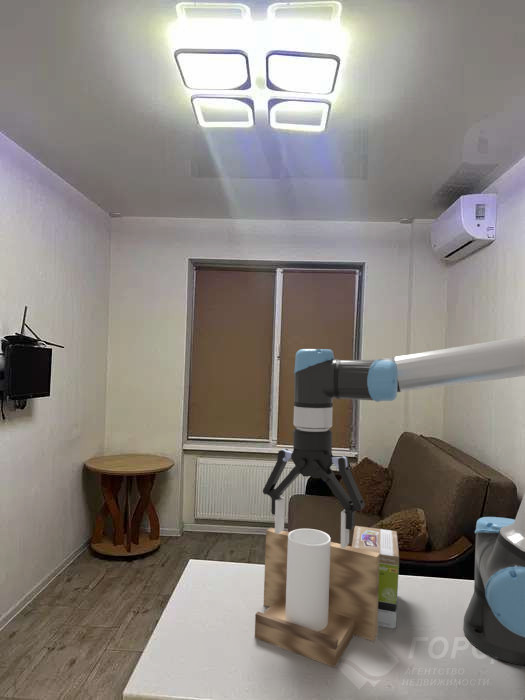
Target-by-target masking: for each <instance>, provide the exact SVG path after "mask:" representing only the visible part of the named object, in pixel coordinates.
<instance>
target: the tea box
mask: <svg viewBox="0 0 525 700" xmlns="http://www.w3.org/2000/svg"><path fill="white" fill-rule="evenodd" d="M351 541H352V542H351V547H355V548H359V549H364V550H368V551H372V552H376V553H380V561H379V592H378V624H377V627H383V628H388V629H396V626H397V614H398V613H397V612H398V611H397V609H398V589H399V574H400V573H399V572H400V571H399V570H400V569H399V568H400V552H399V543H398V542H399V541H398V532H397V531H396V530H392V529H391V530H389V529H381V528H376V527H375V528H374V527H367V526H359V525H354V527H353V536H352V540H351Z"/></svg>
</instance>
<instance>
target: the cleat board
mask: <svg viewBox="0 0 525 700" xmlns="http://www.w3.org/2000/svg"><path fill="white" fill-rule="evenodd" d="M290 532H291V531H287V530H286V531H285V530H283V531H281V532H280V533H279V534H276V533H275V527H274V528H273V527H269V528H268V529H266V530H265V548H264V549H265V553H264V555H265V557H264V576H263V577H264V581H263V582H264V583H263V588H264V589H263V606H265V607H268V608H267V609H266V610H265V611H264V612H261V611H257V612H256V613H255V617H254V618H255V619H254V620H255V621H254V638H255V639H257V640H259V641H262V642H265V643H268V644H271V645H274V646H277V647H279V648H282V649H283V650H286V651H289V652H291V653H295V654H297V655H301V656H303V657H306V658H308V659H310V660H314V661H315V662H319V663H322V664H325V665H328V666H329V667H333V668H336V666H337V665H338V663H339V662H340V659H341V658H342V656H343V654H344V653H345V651H346V649H347V648H348V646H349V644H350V642H351V641H352V639H353V637H354V636H356V637H359V638H362V639H366V640H367V641H368V640H369V641H371V640H372V642H375V641H376V639H377V637H378V626H377V624H378V592H379V561H380V553H376V552H372V551H368V550H364V549H359V548H355V547H352V545H351V546H350V545H347V546H346V547H345V548H341V543H338V542H333V541H331V545H330V576H329V607H328V624H327V626H326V627H325V628H324V629H323V630H321V631H314V630H312V629H309V628H306V627H303V626H300V625H297V624H294V623H291V622H288V621H286V620H285V611H286V581H287V551H288V534H289V533H290Z"/></svg>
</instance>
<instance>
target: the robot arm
mask: <svg viewBox="0 0 525 700" xmlns="http://www.w3.org/2000/svg"><path fill="white" fill-rule="evenodd" d="M294 359H295V361H294V371H293V375H294V376H293V377H294V378H293V379H294V380H293V383H294V385H293V387H294V389H293V392H294V393H293V394H294V396H293V397H294V398H293V423H292V424H293V426H294V427H295V428H294V429H293V431H292V432H293V435H292V436H293V439H292V441H293V442H292V447H293V449H292V451H290V450H289V449H288V448H283V449H281V450H278V452H277V459H276V463H275V465H274V466H273V469H272V471H271V473H270V474H269V477H268V478H267V481H266V482H265V485H264V487H263V489H262V493H263V494H264V495H266V496H269V497H270V499H271V511H270V512H271V514H272V515H274V529H275V533H276V534H279V533H280V532H281V531H285V499H286V497H285V496H282V495H283V493H284V492H285V491H286V490H287V489H288V488H289V487H290V486H291V484H292V483H293V482H294V481H296V478H298V477H299V476H300V475H301V476H302V477H304V478H305V477H307V478H308V477H312V478H314V479H322V481H323V482H324V483H326V485H327V487H328V488H329V489H330V490H331V492H332V494H333V495H334V496H335V498H336V499H337V500H338V503H340V505H341V507H342V508H343V510H342V511H341V512H340V544H341V548H345V547H346V546H349V544H350V531H351V530H352V529H354V528H355V512H357V511H359V512H360V511H362V509H363V508H364V507H365V505H366V504H365V501H364V498H363V497H362V494H361V492H360V489H359V488H358V484H357V483H356V480H355V478H354V476H353V473H352V471H351V469H350V464H349V463H350V462H349V457H348V456H347V455H343V456H334V455H333V453H332V452H333V431H332V429H331V428H332V427H333V408H334V407H333V401H334V399H337V400H341V399H342V400H359V401H373V402H374V401H375V402H376V403H379V402H384V401H385V402H392V401H395V399H396V398H397V396H398V393H402V392H409V391H411V392H412V391H417V390H424V389H433V388H442V387H448V386H449V387H450V386H457V385H458V386H459V385H463V384H464V385H465V384H466V385H467V384H472V383H481V382H488V381H494V380H495V381H496V380H505V379H510V378H511V379H512V378H519V377H520V378H521V377H525V336H518V337H512V338H506V339H505V338H504V339H500V340H492V341H488V342H487V341H486V342H485V341H484V342H480V343H474V344H473V343H472V344H466V345H462V346H453V347H448V348H443V349H435V350H428V351H422V352H417V353H410V354H405V355H404V354H403V355H397V356H392V357H384V358H379V359H378V358H377V359H371V360H370V359H337V358H336V359H335V355H334V351H333V350H332V349H328V348H327V349H326V348H325V349H324V348H323V349H321V348H302V349H301V348H300V349H299V350H298V351H297V352H296V353H295V358H294ZM290 460H291V461H292V462H293V464H294V467H293V468H292V469H291V470H290V471H289V473H287V475H286V477H284V478H283V480H282V481H281V482H280V483H279V484H278V481H279V479H280V477H281V475H282V474H283V471H284V469H285V468H286V465H287V463H288V462H289V461H290ZM333 464H334V466H335V468H336V469H338V471H339V475H340V477H341V480H342V482H343V484H344V486H345V488H344V487H343V486H342V484H341V483H340V481H339V480H338V479H337V477H336V474H335V472H334V471H333V470H332V468H331V467H332V466H333ZM277 484H278V485H277ZM276 485H277V487H276ZM275 487H276V488H275ZM345 489H346V490H345ZM521 499H522V500H521V503H520V505H519V508H518V510H517V513H516V516H515V518H507V517H499V516H497V517H496V516H483V517H480V518H478V519H477V521H476V525H475V530H474V534H475V549H474V550H475V551H474V580H473V581H474V585H473V586H474V587H473V589H474V590H473V594H472V597H471V599H470V601H469V603H468V606H467V608H466V610H465V613H464V616H463V627H462V629H463V633H464V636H465V637H466V639H467V640H468V641H469V642H470V643H471V644H472V645H473V646H474V647H476V648H477V649H479V650H480V651H481V652H483V653H485V654H486V655H489V656H490V657H493V658H495V659H497V660H500V661H502V662H507V663H510V664H515V665H518V666H519V665H520V666H525V493H524V494H523V496H522V498H521Z"/></svg>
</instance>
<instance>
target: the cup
mask: <svg viewBox="0 0 525 700" xmlns="http://www.w3.org/2000/svg"><path fill="white" fill-rule="evenodd" d="M289 532H290V533H289V534H288V551H287V581H286V611H285V620H286V621H288V622H291V623H294V624H297V625H300V626H303V627H306V628H309V629H312V630H314V631H321V630H323V629H324V628H325V627H326V626H327V624H328V607H329V576H330V545H331V542H332V541H331V537H330V534H328V533H326V532H325V531H322V530H319V529H313V528H297V529H294V530H291V531H289Z"/></svg>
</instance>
